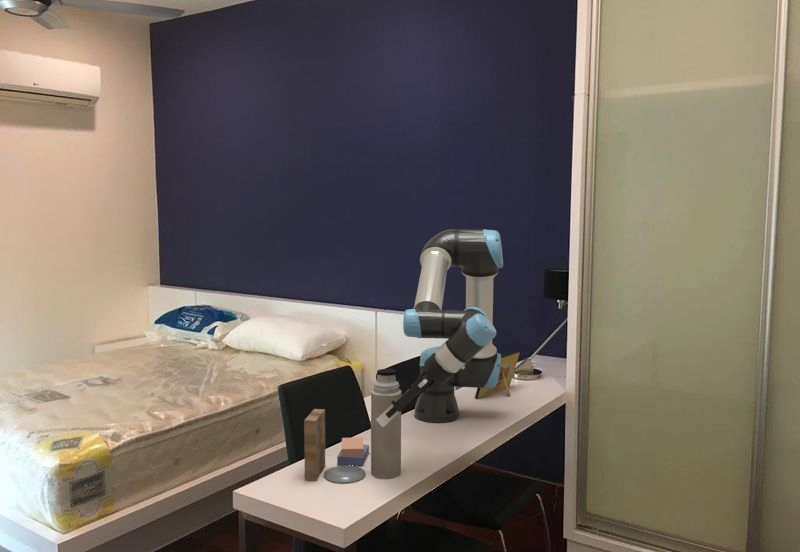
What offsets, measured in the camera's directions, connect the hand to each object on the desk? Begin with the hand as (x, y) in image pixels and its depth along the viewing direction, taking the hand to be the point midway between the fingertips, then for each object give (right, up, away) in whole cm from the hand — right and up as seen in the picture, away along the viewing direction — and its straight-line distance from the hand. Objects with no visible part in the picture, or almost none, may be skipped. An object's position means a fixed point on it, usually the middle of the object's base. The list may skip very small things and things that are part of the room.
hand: (387, 415), depth 180 cm
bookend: (-19, -16, +2) cm, 25 cm away
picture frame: (+41, -8, +78) cm, 89 cm away
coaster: (-11, -16, +1) cm, 20 cm away
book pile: (-10, -15, +12) cm, 22 cm away
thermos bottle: (-1, -16, +3) cm, 16 cm away
